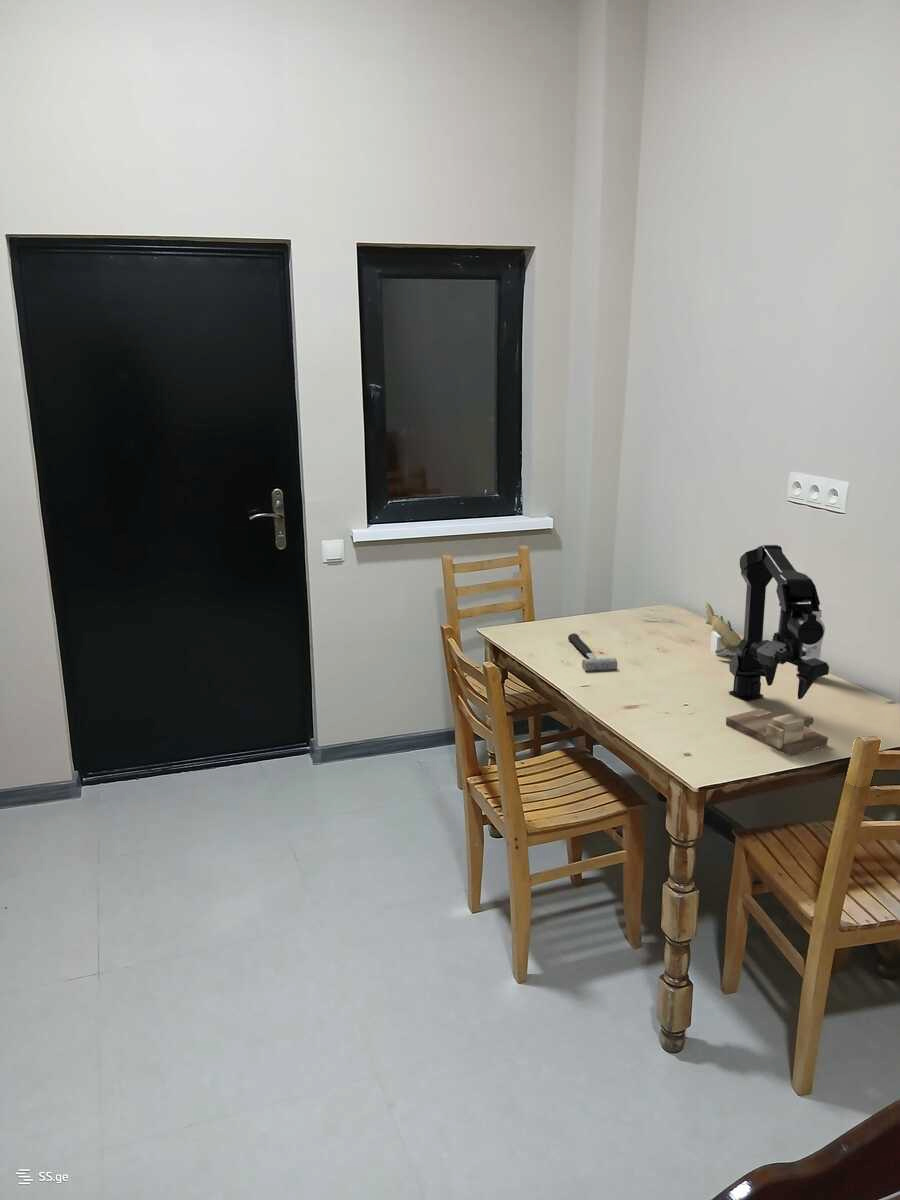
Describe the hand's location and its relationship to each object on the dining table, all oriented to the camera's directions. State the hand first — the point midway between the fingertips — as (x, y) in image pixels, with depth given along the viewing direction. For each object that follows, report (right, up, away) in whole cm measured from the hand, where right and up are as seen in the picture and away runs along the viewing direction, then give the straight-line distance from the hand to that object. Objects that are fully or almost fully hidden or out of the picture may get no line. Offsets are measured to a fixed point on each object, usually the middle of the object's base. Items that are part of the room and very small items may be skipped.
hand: (784, 691), depth 199 cm
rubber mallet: (-37, +4, +61) cm, 72 cm away
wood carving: (+6, +6, +64) cm, 65 cm away
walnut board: (-1, -11, +2) cm, 11 cm away
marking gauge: (0, -11, -4) cm, 12 cm away
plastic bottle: (+23, 0, +40) cm, 46 cm away
